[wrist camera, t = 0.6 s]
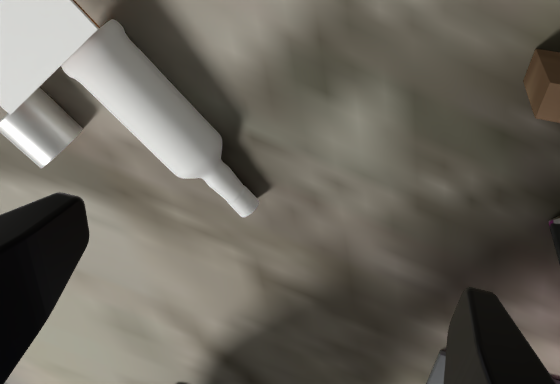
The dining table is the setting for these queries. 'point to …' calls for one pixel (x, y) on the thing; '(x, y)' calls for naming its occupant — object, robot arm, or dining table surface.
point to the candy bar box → (556, 234)
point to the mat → (438, 370)
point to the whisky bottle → (101, 93)
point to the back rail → (544, 85)
